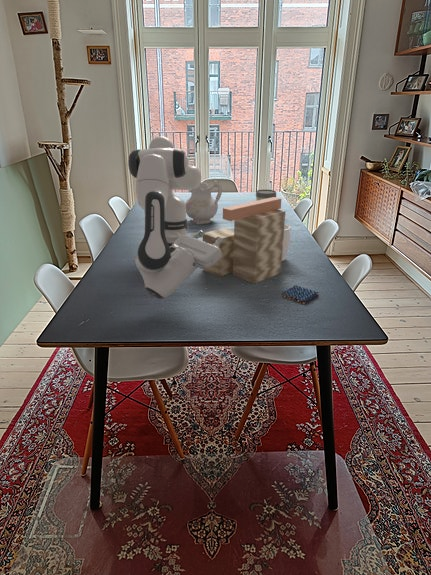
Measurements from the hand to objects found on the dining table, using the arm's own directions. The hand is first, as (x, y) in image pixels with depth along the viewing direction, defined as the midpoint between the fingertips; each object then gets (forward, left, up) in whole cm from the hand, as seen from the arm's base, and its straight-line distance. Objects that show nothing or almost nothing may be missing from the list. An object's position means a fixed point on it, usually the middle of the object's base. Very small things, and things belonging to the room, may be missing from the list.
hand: (211, 235), depth 142 cm
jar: (+36, +28, -22) cm, 50 cm away
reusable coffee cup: (+55, +101, -22) cm, 117 cm away
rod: (+18, +11, +4) cm, 22 cm away
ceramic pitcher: (+15, +95, -22) cm, 98 cm away
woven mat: (+31, -10, -23) cm, 40 cm away
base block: (+8, +20, -22) cm, 31 cm away
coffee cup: (-10, +35, -22) cm, 42 cm away
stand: (+22, +13, -22) cm, 33 cm away
